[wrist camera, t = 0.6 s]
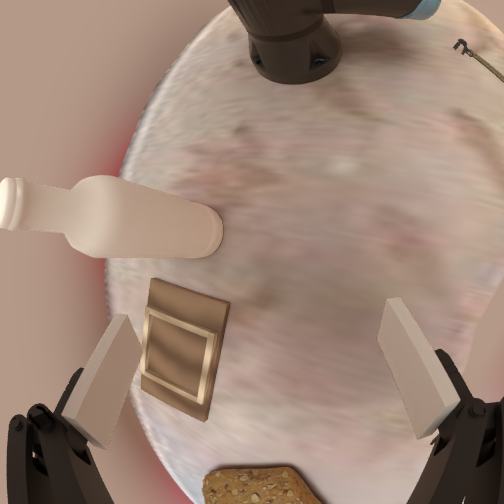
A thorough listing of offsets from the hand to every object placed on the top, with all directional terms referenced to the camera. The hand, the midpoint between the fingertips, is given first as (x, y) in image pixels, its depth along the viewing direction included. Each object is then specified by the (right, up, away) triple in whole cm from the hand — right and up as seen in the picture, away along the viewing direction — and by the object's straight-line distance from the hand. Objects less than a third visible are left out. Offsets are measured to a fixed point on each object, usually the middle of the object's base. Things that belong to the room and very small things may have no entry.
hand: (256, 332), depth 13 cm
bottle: (-8, +7, +28) cm, 30 cm away
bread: (+4, -44, +23) cm, 50 cm away
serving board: (-12, -13, +29) cm, 34 cm away
